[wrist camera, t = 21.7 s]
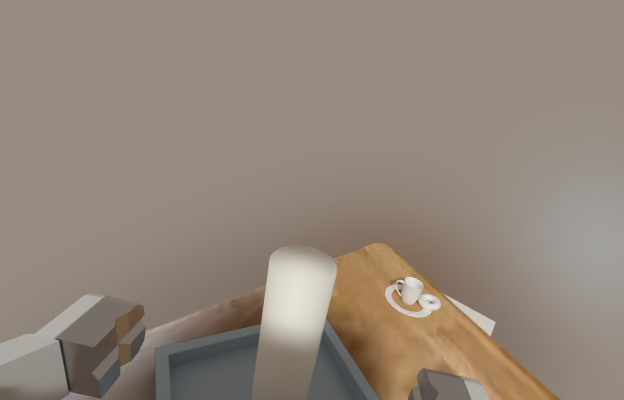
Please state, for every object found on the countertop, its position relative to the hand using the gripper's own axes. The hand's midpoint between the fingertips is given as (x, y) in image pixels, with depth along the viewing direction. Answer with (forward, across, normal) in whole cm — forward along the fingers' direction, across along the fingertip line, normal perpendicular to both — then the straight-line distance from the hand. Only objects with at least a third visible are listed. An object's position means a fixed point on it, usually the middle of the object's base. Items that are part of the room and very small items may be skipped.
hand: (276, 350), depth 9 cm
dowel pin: (+12, 0, -23) cm, 26 cm away
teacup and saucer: (+34, +19, -25) cm, 46 cm away
